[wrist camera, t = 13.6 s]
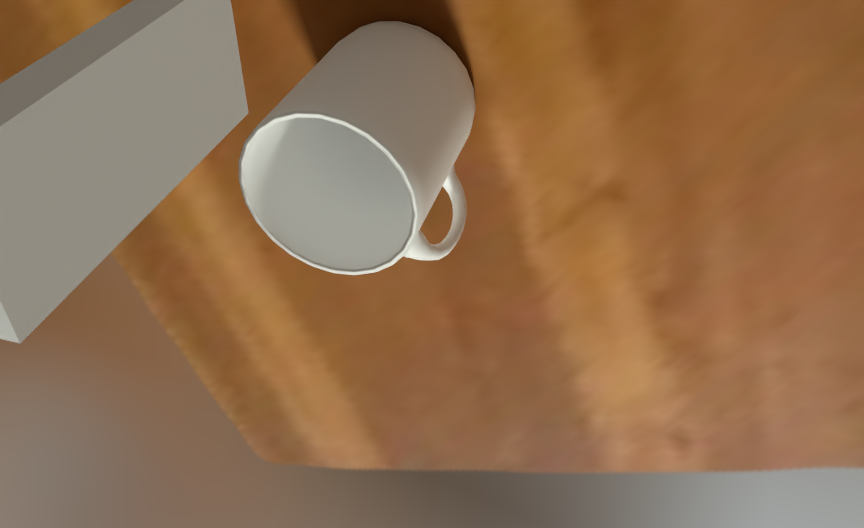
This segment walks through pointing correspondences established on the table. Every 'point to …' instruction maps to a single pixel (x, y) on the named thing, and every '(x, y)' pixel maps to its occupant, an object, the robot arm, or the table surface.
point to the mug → (363, 152)
